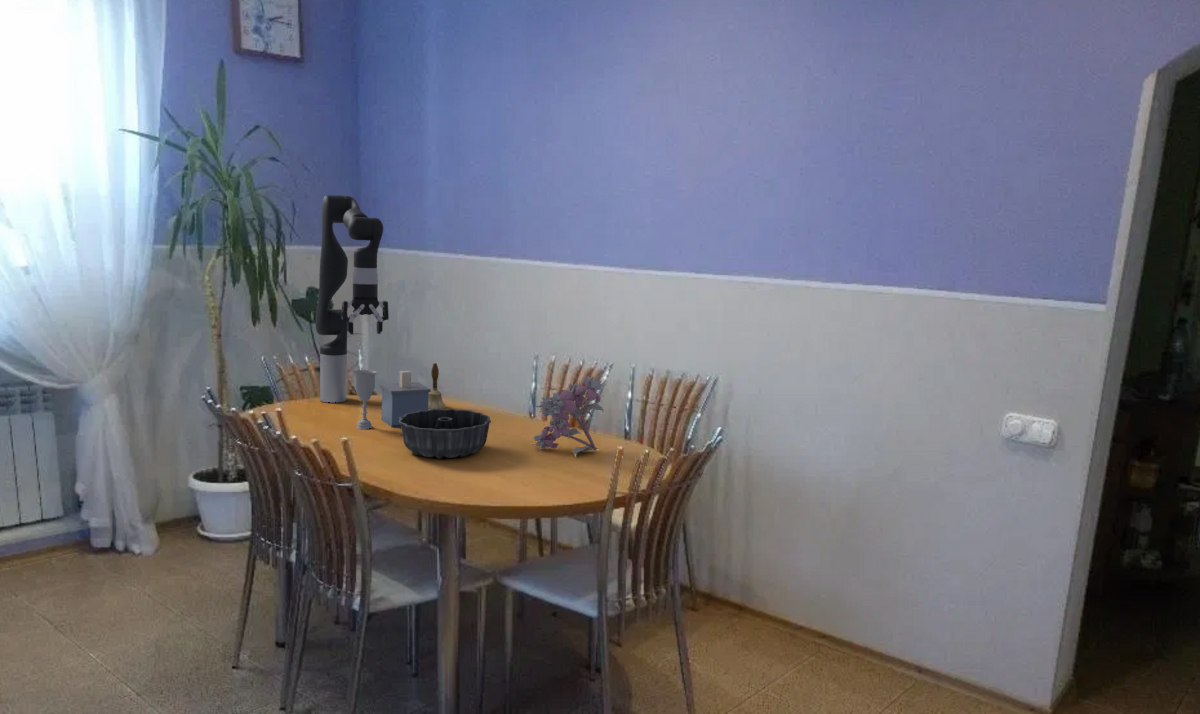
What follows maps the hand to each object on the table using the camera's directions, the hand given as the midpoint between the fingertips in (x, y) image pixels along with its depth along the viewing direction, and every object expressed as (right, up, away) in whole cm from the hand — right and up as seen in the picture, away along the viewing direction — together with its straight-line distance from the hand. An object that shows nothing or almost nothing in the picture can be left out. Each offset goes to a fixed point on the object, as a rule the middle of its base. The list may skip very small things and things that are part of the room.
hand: (365, 333), depth 269 cm
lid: (+10, -19, +12) cm, 25 cm away
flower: (+62, -36, -14) cm, 73 cm away
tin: (+9, -29, +14) cm, 33 cm away
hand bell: (+14, -26, +40) cm, 49 cm away
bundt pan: (+28, -35, -19) cm, 49 cm away
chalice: (-1, -30, +4) cm, 30 cm away
